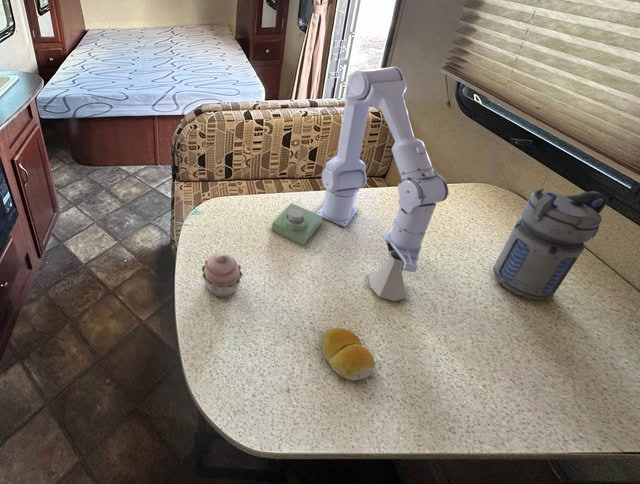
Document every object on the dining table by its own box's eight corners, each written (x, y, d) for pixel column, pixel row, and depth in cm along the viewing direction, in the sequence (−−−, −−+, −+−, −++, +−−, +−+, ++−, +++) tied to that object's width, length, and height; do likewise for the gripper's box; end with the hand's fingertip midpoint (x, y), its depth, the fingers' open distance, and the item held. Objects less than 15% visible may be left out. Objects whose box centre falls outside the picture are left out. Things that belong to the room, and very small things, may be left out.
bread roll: (347, 330, 74) (351, 317, 73) (380, 375, 67) (385, 361, 65) (310, 340, 73) (313, 327, 71) (340, 386, 65) (344, 373, 63)
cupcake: (198, 299, 82) (198, 267, 78) (203, 267, 90) (204, 236, 86) (240, 307, 80) (243, 274, 75) (242, 273, 88) (245, 242, 83)
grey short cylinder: (291, 212, 101) (292, 206, 100) (304, 218, 98) (305, 212, 97) (285, 219, 98) (286, 213, 97) (298, 225, 96) (299, 219, 95)
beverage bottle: (575, 299, 78) (642, 205, 67) (517, 306, 77) (574, 212, 66) (529, 263, 87) (580, 174, 76) (476, 268, 86) (520, 180, 75)
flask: (396, 275, 86) (407, 243, 81) (411, 302, 79) (425, 269, 75) (363, 274, 86) (372, 242, 82) (376, 301, 80) (387, 268, 75)
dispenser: (290, 210, 108) (292, 197, 106) (320, 223, 102) (323, 210, 100) (271, 229, 101) (273, 217, 99) (303, 245, 95) (305, 232, 93)
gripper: (383, 201, 86) (370, 244, 92) (394, 244, 74) (378, 291, 80) (419, 206, 83) (403, 251, 90) (436, 252, 71) (416, 299, 78)
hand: (394, 270), depth 85 cm, fingers closed
